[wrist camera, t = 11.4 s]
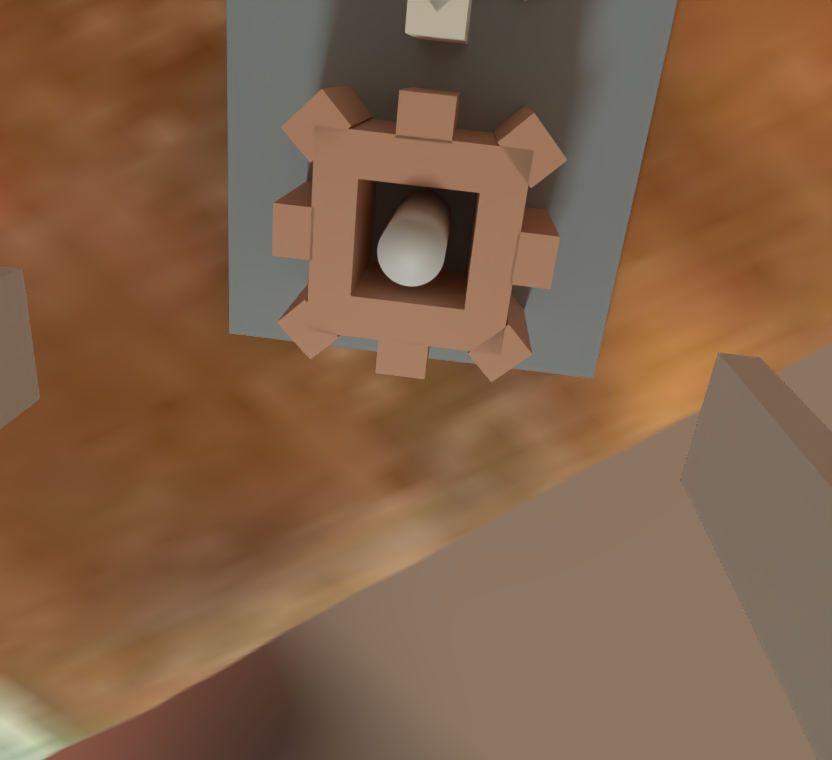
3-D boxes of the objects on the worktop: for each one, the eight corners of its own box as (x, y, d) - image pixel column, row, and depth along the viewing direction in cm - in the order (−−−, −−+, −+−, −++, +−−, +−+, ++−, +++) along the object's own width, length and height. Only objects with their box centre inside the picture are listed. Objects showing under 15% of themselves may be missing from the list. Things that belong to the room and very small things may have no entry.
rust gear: (310, 75, 27) (275, 76, 22) (565, 103, 26) (583, 110, 22) (301, 316, 30) (270, 359, 26) (523, 343, 30) (531, 392, 26)
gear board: (243, -374, 23) (134, -579, 16) (736, -330, 23) (859, -521, 15) (243, 318, 33) (175, 389, 26) (586, 361, 32) (618, 446, 25)
